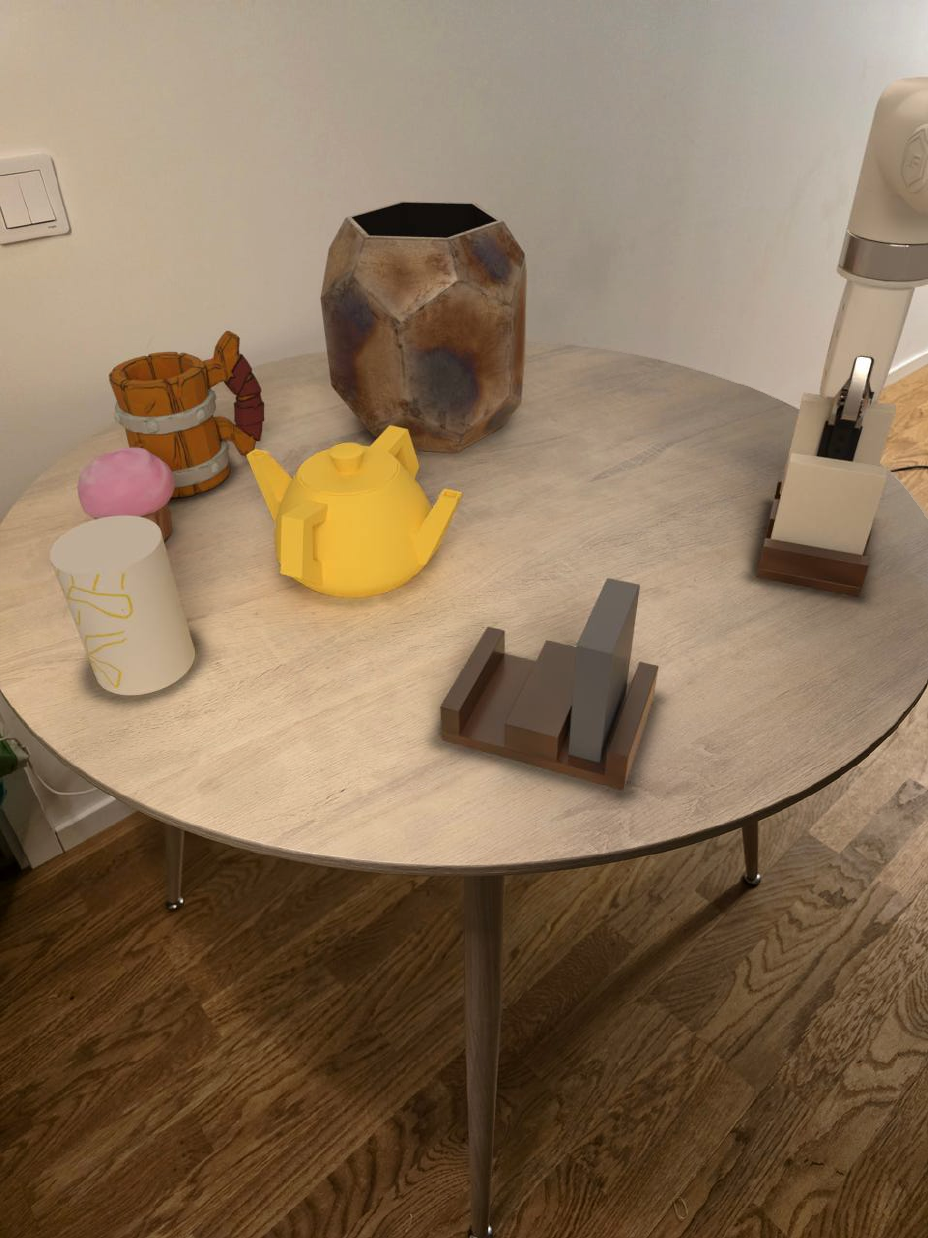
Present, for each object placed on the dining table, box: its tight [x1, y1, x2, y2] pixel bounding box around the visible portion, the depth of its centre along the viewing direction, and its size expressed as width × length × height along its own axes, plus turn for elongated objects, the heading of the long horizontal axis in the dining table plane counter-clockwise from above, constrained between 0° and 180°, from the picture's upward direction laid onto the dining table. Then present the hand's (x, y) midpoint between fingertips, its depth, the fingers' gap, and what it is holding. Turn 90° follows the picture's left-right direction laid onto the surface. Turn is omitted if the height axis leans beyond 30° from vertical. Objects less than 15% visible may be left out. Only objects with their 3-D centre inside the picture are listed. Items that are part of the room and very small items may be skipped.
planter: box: [320, 200, 528, 454], centre depth 100 cm, size 22×24×24 cm
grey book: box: [568, 577, 641, 763], centre depth 62 cm, size 2×8×10 cm, turn 158°
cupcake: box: [77, 447, 175, 541], centre depth 84 cm, size 9×9×10 cm
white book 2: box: [771, 453, 889, 555], centre depth 78 cm, size 8×2×10 cm, turn 68°
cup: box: [49, 515, 196, 696], centre depth 69 cm, size 8×8×12 cm
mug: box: [108, 330, 265, 499], centre depth 95 cm, size 11×16×15 cm, turn 120°
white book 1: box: [780, 392, 897, 494], centre depth 82 cm, size 2×8×10 cm, turn 68°
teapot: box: [246, 425, 463, 599], centre depth 81 cm, size 17×17×12 cm
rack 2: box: [756, 474, 872, 598], centre depth 83 cm, size 9×14×4 cm, turn 158°
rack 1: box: [439, 626, 659, 791], centre depth 66 cm, size 14×10×4 cm
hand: (834, 455), depth 82 cm, fingers closed on white book 1, 1 cm apart
